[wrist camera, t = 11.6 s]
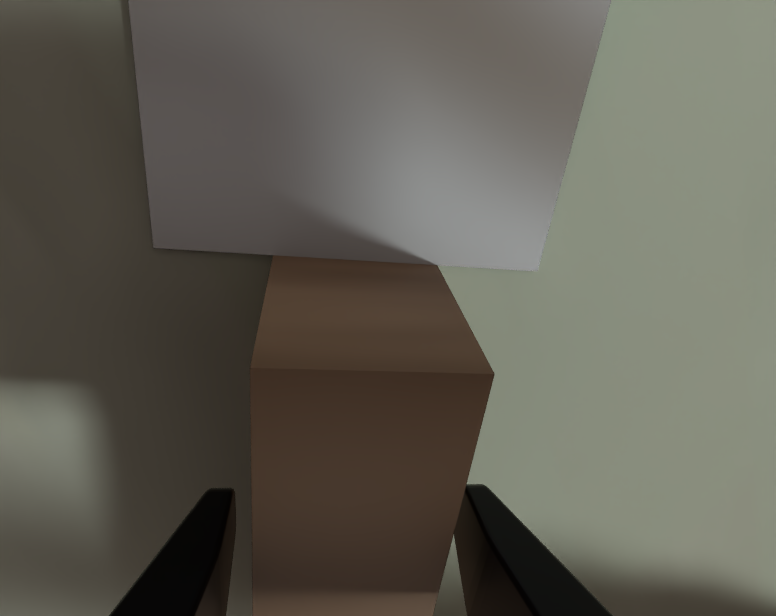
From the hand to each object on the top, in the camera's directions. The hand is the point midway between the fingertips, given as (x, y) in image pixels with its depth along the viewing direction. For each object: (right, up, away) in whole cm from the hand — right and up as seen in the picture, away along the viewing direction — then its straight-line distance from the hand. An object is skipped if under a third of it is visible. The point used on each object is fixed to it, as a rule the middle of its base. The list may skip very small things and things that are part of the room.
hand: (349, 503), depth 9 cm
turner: (0, +4, +1) cm, 4 cm away
